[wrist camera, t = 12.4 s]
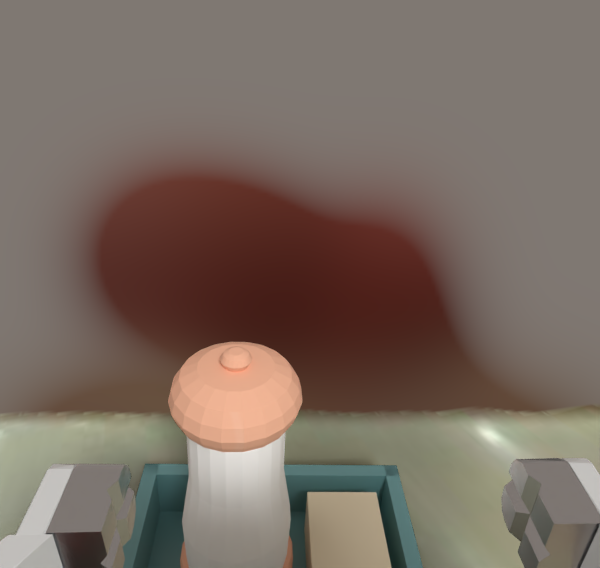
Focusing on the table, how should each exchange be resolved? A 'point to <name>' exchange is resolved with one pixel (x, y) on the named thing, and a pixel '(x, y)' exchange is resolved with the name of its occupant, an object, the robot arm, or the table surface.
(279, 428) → the salt shaker
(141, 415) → the table surface
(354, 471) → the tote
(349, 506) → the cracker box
